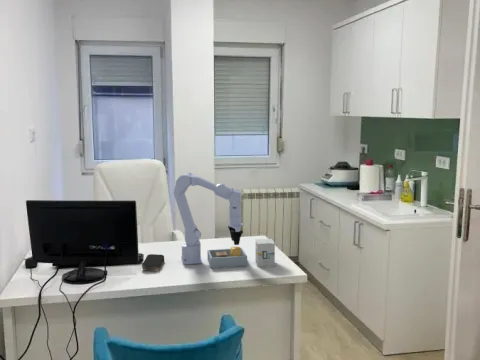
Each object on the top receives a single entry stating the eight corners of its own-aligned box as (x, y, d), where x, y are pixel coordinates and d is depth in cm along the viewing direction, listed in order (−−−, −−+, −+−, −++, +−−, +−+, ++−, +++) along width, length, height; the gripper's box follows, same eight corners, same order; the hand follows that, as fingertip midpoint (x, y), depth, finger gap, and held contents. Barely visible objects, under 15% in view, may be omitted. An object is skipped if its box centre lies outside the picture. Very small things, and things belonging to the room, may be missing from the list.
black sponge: (148, 261, 244) (147, 253, 243) (165, 261, 244) (164, 254, 243) (141, 272, 228) (140, 264, 227) (159, 272, 228) (159, 264, 227)
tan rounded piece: (241, 263, 237) (241, 249, 236) (231, 263, 237) (231, 249, 236) (240, 259, 242) (240, 246, 241) (230, 260, 242) (230, 246, 241)
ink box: (255, 261, 242) (255, 238, 240) (272, 261, 243) (272, 238, 241) (257, 267, 234) (257, 243, 232) (274, 266, 234) (275, 243, 233)
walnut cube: (217, 265, 234) (216, 255, 233) (215, 262, 239) (215, 252, 238) (227, 264, 235) (227, 254, 234) (225, 261, 240) (225, 251, 239)
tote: (210, 268, 232) (210, 258, 231) (207, 259, 245) (207, 249, 244) (247, 266, 235) (247, 256, 234) (242, 257, 248) (242, 248, 247)
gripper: (246, 218, 230) (246, 246, 232) (240, 211, 244) (240, 238, 246) (231, 219, 228) (231, 247, 230) (226, 212, 242) (226, 238, 245)
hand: (235, 242), depth 238 cm, fingers open, 7 cm apart
